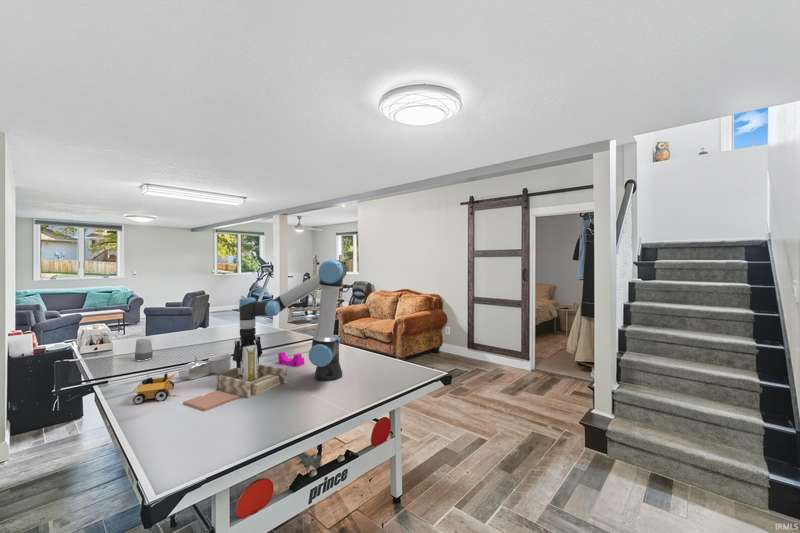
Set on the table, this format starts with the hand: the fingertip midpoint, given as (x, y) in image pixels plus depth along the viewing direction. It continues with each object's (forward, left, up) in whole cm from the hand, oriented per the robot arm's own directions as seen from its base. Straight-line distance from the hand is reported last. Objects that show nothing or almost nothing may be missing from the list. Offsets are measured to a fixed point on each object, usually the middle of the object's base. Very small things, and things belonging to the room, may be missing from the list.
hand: (248, 371), depth 177 cm
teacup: (+27, -5, -7) cm, 28 cm away
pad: (-4, +22, -7) cm, 24 cm away
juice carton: (0, 0, -6) cm, 6 cm away
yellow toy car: (+25, +31, -7) cm, 40 cm away
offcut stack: (-11, 0, -7) cm, 13 cm away
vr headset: (+34, +7, -6) cm, 35 cm away
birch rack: (-4, 0, -7) cm, 8 cm away
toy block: (+8, -37, -7) cm, 39 cm away
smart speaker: (+101, +1, -7) cm, 101 cm away
